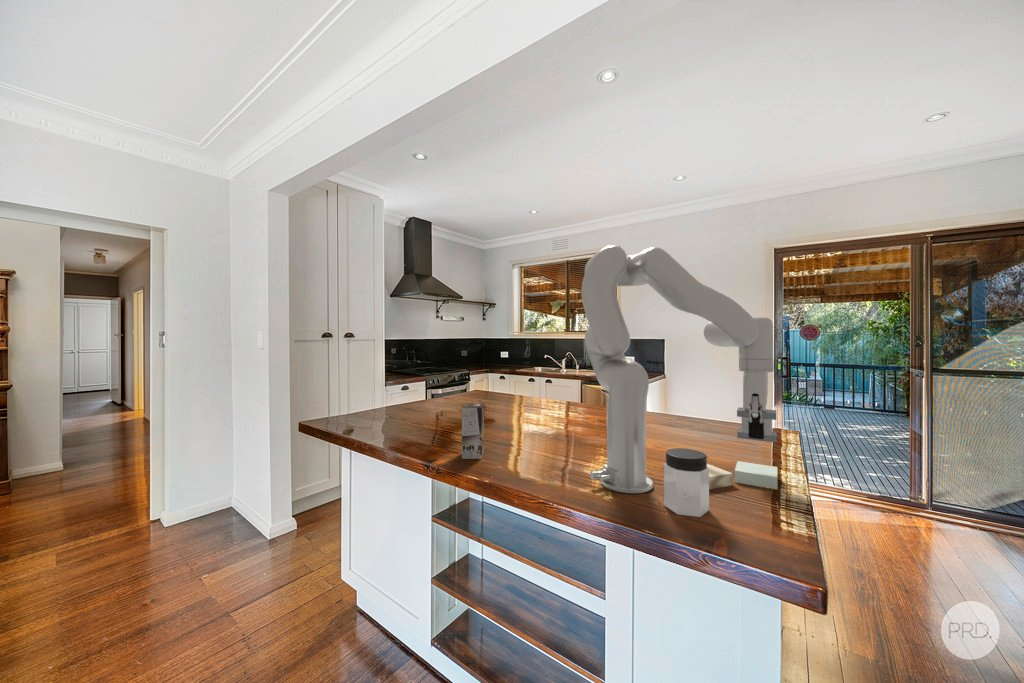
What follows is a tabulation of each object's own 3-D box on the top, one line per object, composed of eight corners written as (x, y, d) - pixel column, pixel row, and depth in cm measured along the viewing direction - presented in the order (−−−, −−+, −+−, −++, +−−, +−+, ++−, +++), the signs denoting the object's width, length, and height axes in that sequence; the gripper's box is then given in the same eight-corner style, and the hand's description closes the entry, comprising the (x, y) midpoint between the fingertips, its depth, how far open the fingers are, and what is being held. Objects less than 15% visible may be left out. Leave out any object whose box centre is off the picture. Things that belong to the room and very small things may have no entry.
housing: (737, 438, 100) (736, 410, 99) (738, 434, 104) (738, 407, 104) (776, 442, 95) (776, 413, 95) (776, 438, 99) (776, 410, 99)
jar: (665, 513, 81) (665, 457, 81) (662, 498, 89) (662, 446, 89) (712, 519, 78) (712, 460, 78) (705, 503, 86) (705, 449, 86)
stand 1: (704, 490, 93) (704, 477, 93) (677, 477, 102) (677, 466, 102) (732, 485, 96) (732, 473, 96) (704, 473, 105) (704, 462, 105)
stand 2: (777, 489, 93) (777, 477, 93) (734, 482, 98) (734, 470, 98) (777, 478, 100) (777, 467, 100) (737, 472, 106) (737, 461, 106)
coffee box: (482, 459, 119) (481, 407, 119) (461, 459, 119) (460, 407, 119) (484, 450, 128) (484, 402, 128) (465, 450, 128) (464, 402, 128)
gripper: (741, 363, 108) (742, 427, 108) (736, 367, 94) (737, 441, 94) (773, 363, 104) (774, 430, 104) (773, 368, 90) (774, 445, 90)
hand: (756, 435), depth 99 cm, fingers closed on housing, 5 cm apart
